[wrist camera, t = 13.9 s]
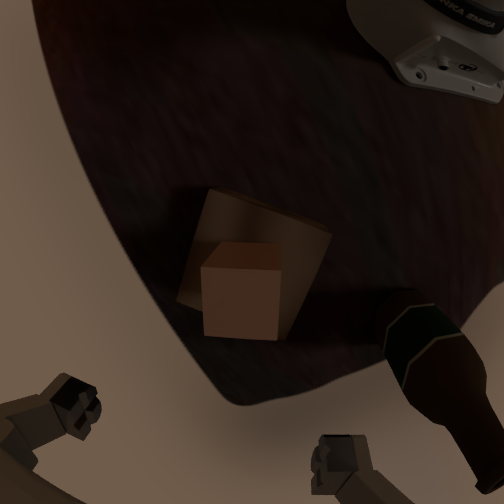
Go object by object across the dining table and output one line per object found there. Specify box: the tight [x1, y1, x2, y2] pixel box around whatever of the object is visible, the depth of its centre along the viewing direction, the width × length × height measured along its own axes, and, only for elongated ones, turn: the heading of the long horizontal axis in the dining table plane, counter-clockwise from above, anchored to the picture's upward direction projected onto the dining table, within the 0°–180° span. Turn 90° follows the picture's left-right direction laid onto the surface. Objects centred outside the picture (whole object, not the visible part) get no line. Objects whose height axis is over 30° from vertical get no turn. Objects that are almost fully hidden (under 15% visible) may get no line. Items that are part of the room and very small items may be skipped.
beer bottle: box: [374, 289, 504, 495], centre depth 18 cm, size 8×8×24 cm
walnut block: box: [176, 187, 333, 341], centre depth 28 cm, size 11×11×5 cm
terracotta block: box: [201, 242, 281, 340], centre depth 22 cm, size 5×5×7 cm
